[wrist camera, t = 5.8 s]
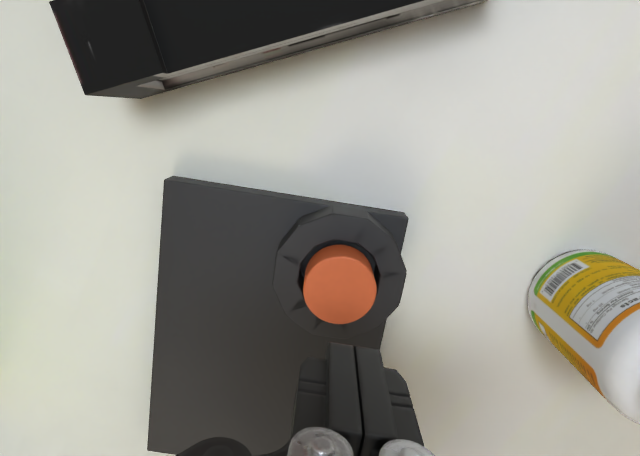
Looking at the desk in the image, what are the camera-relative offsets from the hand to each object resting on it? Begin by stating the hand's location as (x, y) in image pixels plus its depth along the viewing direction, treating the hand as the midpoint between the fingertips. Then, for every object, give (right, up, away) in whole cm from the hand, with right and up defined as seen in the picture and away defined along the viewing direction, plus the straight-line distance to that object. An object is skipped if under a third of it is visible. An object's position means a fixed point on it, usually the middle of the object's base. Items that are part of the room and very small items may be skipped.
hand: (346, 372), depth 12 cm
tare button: (0, +2, +8) cm, 8 cm away
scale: (-4, -2, +12) cm, 12 cm away
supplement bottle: (+13, +1, +11) cm, 17 cm away
